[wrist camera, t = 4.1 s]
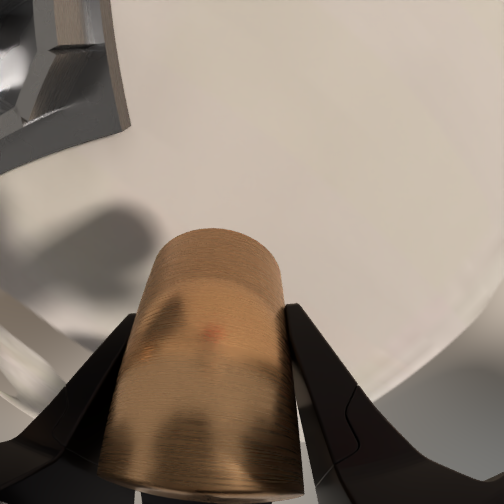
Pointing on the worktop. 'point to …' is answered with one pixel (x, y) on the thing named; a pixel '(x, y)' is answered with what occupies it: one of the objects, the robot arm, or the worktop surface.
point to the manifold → (57, 77)
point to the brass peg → (207, 379)
